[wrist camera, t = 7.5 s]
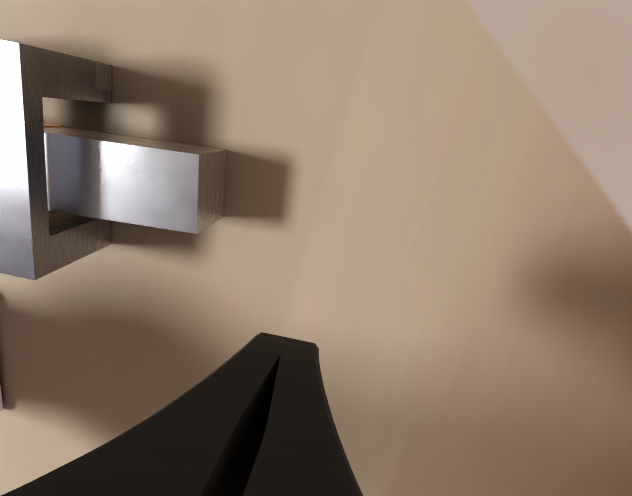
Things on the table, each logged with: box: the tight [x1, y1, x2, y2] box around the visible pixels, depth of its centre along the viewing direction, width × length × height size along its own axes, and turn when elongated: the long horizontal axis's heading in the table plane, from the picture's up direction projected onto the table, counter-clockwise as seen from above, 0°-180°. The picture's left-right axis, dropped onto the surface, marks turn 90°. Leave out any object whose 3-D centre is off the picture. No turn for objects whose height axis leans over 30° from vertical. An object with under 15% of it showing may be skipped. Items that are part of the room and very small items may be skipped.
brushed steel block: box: [43, 123, 226, 234], centre depth 16 cm, size 12×3×3 cm, turn 83°
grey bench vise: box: [0, 40, 112, 280], centre depth 15 cm, size 6×8×5 cm
